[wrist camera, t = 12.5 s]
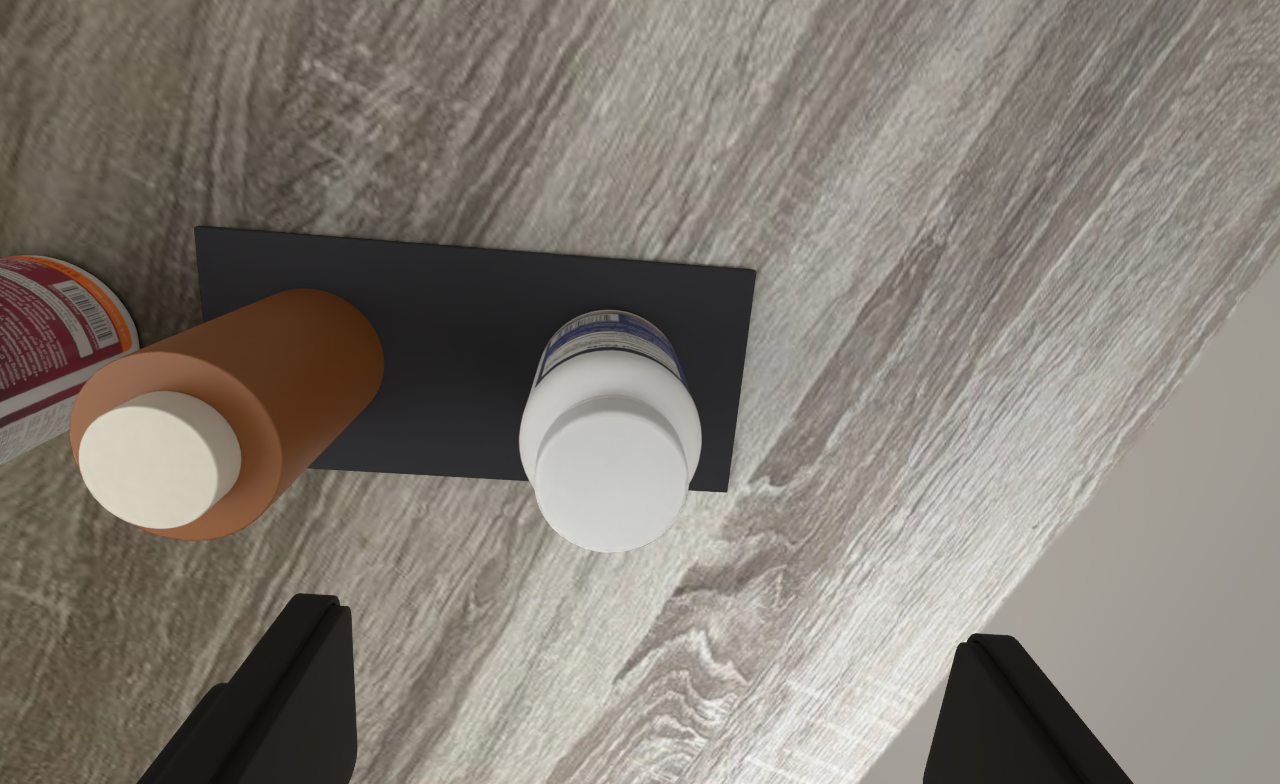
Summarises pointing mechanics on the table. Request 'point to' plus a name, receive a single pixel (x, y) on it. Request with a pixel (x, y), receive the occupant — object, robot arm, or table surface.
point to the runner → (484, 337)
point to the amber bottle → (224, 413)
